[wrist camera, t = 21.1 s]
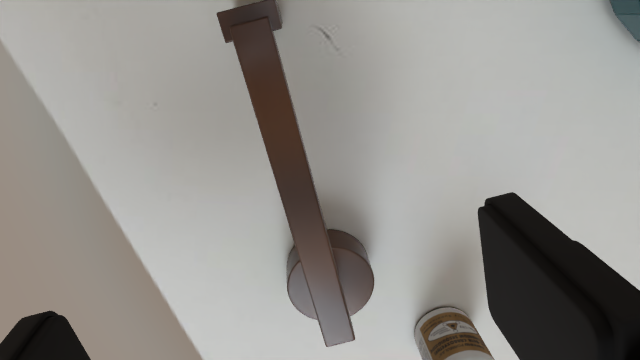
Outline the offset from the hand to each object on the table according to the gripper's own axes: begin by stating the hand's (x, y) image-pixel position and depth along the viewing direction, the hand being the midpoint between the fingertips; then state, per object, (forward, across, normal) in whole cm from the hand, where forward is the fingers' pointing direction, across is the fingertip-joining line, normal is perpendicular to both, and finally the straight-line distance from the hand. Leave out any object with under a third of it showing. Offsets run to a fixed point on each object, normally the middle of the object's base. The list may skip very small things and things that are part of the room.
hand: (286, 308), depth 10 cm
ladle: (+18, 0, +4) cm, 18 cm away
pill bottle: (+18, -7, +19) cm, 27 cm away
